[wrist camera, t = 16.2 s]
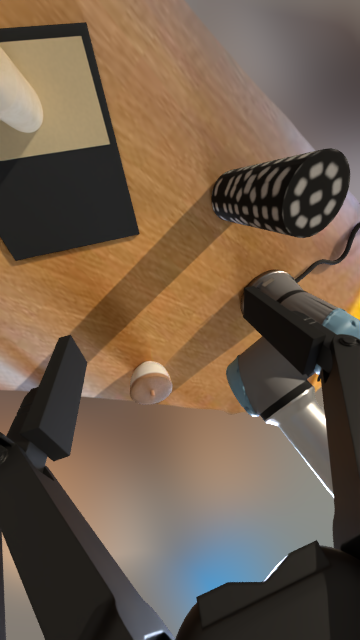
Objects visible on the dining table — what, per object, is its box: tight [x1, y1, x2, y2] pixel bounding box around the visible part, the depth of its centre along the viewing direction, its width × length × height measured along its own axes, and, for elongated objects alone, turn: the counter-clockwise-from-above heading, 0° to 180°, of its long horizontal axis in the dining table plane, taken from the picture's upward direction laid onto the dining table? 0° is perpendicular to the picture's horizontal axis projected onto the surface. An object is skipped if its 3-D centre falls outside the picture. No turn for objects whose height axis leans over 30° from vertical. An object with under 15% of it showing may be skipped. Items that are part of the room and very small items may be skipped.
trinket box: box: [130, 361, 172, 405], centre depth 52 cm, size 11×11×9 cm
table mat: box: [0, 23, 139, 261], centre depth 29 cm, size 22×24×1 cm
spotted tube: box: [212, 149, 350, 238], centre depth 30 cm, size 8×8×20 cm
